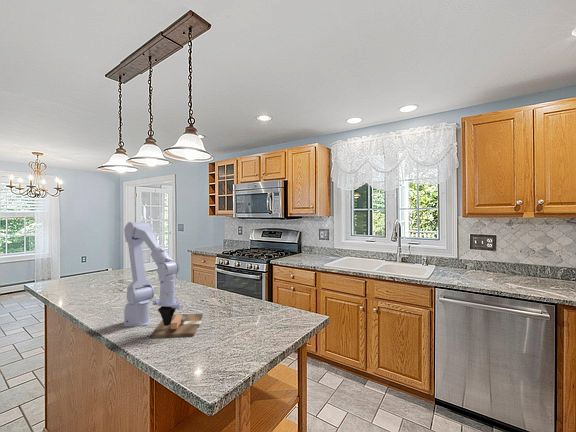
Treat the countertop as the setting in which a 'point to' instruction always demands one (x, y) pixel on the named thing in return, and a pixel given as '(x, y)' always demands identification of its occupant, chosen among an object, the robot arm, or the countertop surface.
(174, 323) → the orange bar
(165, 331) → the lock board
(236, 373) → the countertop surface
